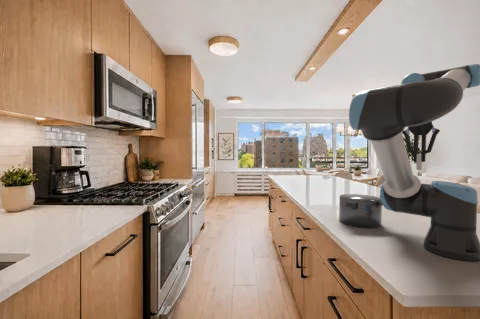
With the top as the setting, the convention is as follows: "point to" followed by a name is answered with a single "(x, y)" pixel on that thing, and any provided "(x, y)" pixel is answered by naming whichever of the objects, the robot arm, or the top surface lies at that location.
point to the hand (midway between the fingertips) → (419, 169)
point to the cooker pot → (360, 210)
